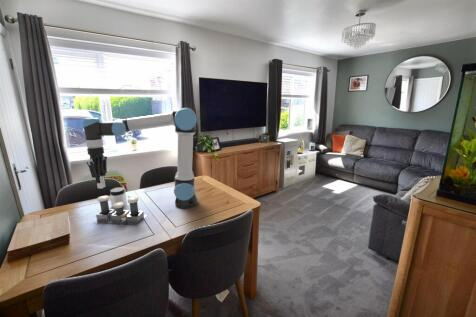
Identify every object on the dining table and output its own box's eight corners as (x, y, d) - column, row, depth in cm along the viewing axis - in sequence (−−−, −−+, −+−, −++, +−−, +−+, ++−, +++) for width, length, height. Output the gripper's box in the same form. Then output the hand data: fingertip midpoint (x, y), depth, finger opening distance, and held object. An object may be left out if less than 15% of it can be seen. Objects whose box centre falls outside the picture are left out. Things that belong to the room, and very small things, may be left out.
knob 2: (141, 211, 131) (140, 197, 128) (136, 216, 125) (134, 201, 123) (132, 211, 131) (131, 196, 129) (127, 215, 126) (125, 200, 123)
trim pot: (128, 221, 128) (127, 213, 126) (125, 224, 124) (124, 215, 123) (123, 220, 128) (122, 212, 127) (120, 223, 125) (119, 215, 123)
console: (147, 216, 135) (146, 209, 134) (136, 227, 123) (135, 219, 122) (107, 214, 137) (106, 207, 136) (93, 224, 126) (91, 216, 124)
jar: (112, 210, 142) (109, 193, 139) (111, 205, 149) (108, 189, 146) (127, 207, 147) (125, 190, 144) (126, 202, 153) (123, 186, 150)
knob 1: (113, 210, 132) (110, 195, 130) (106, 214, 127) (104, 199, 125) (104, 209, 133) (102, 195, 130) (97, 214, 127) (95, 199, 125)
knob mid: (128, 216, 132) (126, 202, 130) (122, 221, 127) (120, 206, 125) (119, 216, 133) (117, 201, 131) (113, 220, 127) (111, 206, 125)
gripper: (98, 144, 127) (104, 182, 133) (78, 149, 113) (85, 192, 119) (110, 144, 127) (115, 183, 133) (91, 149, 113) (98, 192, 119)
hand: (101, 187), depth 126 cm, fingers closed
